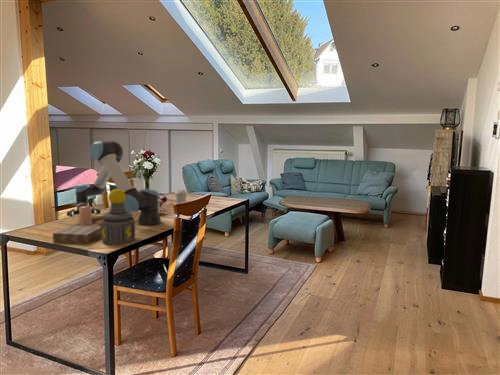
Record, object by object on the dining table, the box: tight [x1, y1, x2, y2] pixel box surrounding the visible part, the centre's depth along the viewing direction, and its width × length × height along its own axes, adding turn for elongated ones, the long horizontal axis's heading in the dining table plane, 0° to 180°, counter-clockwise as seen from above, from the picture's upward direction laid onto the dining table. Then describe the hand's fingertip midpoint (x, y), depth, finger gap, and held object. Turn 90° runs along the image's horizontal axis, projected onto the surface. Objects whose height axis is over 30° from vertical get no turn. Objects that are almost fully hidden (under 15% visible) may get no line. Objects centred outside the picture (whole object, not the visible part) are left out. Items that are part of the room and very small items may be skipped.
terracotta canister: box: [78, 205, 93, 226], centre depth 240 cm, size 7×7×14 cm
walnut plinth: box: [52, 224, 101, 244], centre depth 219 cm, size 20×18×5 cm
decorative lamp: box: [100, 188, 136, 245], centre depth 215 cm, size 19×19×30 cm
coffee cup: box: [174, 189, 187, 203], centre depth 306 cm, size 10×10×15 cm
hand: (84, 215), depth 243 cm, fingers open, 13 cm apart
